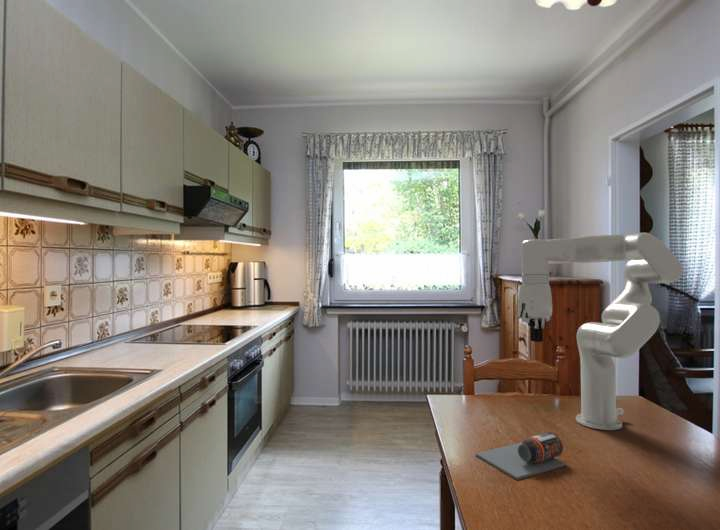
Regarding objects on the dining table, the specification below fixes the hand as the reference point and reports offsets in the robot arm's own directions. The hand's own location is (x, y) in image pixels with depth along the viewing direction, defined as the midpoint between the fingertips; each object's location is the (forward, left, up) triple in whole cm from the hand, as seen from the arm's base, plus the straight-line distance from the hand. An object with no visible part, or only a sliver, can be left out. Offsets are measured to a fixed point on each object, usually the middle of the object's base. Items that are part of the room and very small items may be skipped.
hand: (536, 341), depth 125 cm
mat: (+20, +12, -27) cm, 36 cm away
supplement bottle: (+10, +14, -23) cm, 29 cm away
